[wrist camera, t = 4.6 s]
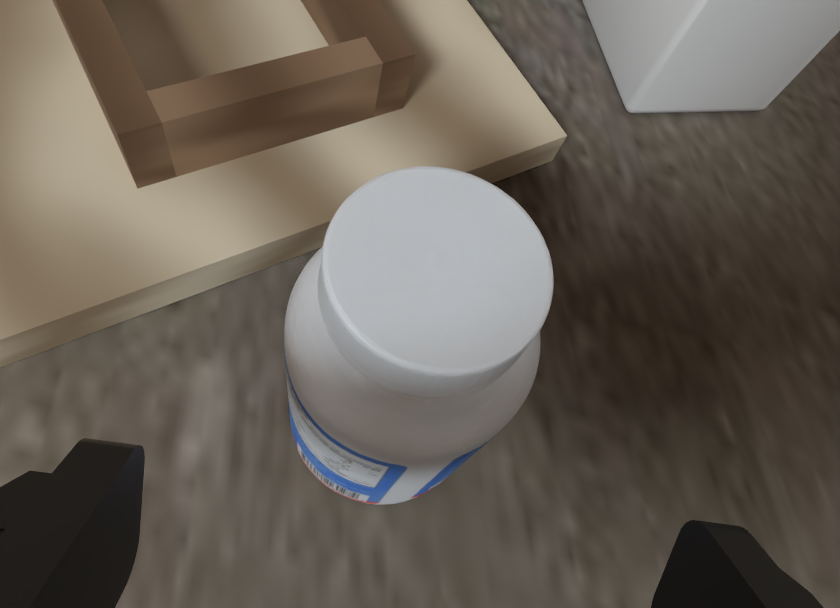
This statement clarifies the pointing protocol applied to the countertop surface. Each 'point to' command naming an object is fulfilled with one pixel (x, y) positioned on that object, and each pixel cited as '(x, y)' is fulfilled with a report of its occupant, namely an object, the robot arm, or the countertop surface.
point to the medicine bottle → (708, 49)
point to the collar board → (223, 139)
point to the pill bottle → (414, 331)
